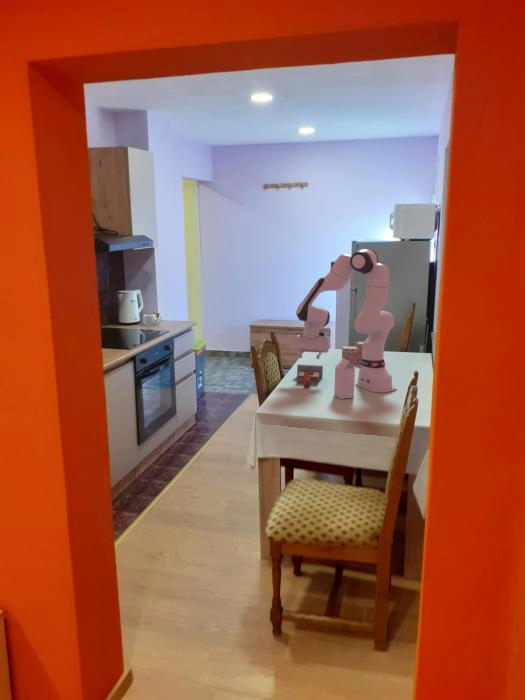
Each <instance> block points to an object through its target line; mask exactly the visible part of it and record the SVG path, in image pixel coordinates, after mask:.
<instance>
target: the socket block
mask: <svg viewBox="0 0 525 700" xmlns="http://www.w3.org/2000/svg"><path fill="white" fill-rule="evenodd" d="M304 372H311V373H310V385H319V382H320V379H321V378H320V372H319V371H299V374H298V377H297V384H301V385H302V384H303V385H304Z"/></svg>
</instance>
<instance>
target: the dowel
mask: <svg viewBox="0 0 525 700" xmlns="http://www.w3.org/2000/svg"><path fill="white" fill-rule="evenodd" d="M310 373H311V372H304V384H303V388H304V389H309V388H311V384H310Z"/></svg>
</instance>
